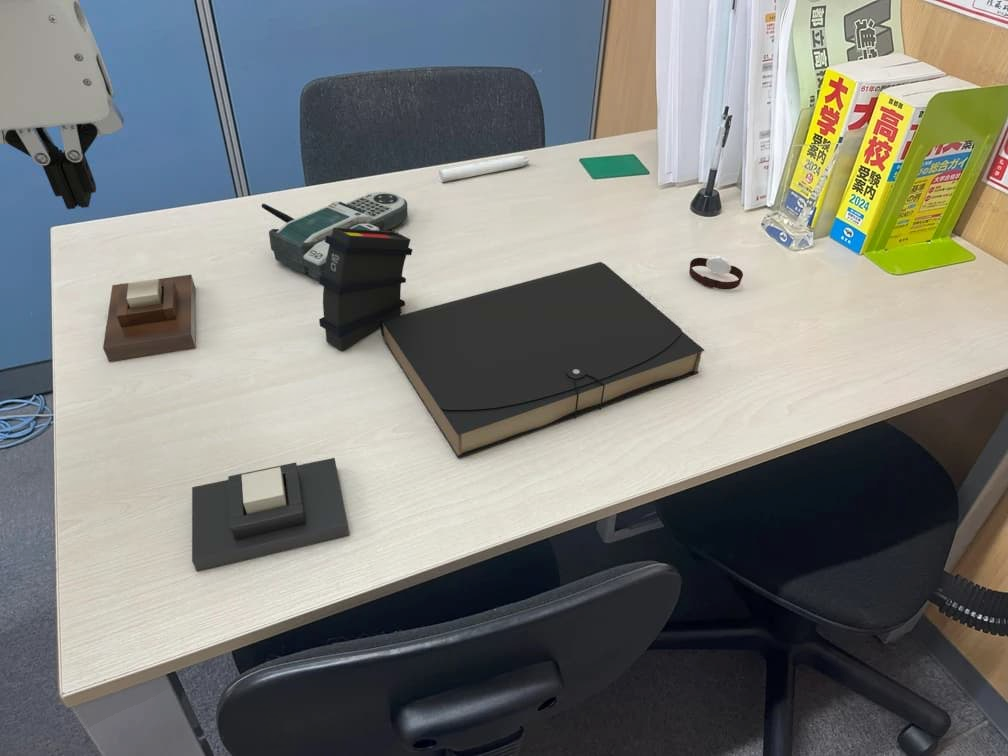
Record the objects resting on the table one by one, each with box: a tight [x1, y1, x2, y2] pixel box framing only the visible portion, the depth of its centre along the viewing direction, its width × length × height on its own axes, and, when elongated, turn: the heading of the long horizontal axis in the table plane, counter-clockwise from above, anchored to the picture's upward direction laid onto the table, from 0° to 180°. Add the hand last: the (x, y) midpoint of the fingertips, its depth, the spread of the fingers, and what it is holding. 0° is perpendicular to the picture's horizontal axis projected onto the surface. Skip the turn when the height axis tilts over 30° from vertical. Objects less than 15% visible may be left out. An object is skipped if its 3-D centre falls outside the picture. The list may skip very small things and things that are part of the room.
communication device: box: [261, 191, 408, 281], centre depth 107 cm, size 12×24×9 cm, turn 146°
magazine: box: [318, 227, 413, 351], centre depth 90 cm, size 4×13×15 cm, turn 141°
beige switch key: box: [127, 278, 162, 309], centre depth 90 cm, size 4×4×2 cm
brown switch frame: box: [102, 274, 197, 363], centre depth 92 cm, size 14×10×4 cm
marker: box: [438, 155, 531, 183], centre depth 129 cm, size 18×2×2 cm, turn 117°
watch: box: [688, 255, 744, 291], centre depth 103 cm, size 8×5×4 cm, turn 63°
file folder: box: [379, 261, 706, 459], centre depth 89 cm, size 33×4×24 cm
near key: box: [242, 467, 287, 515], centre depth 68 cm, size 4×4×2 cm
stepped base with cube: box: [191, 457, 350, 572], centre depth 69 cm, size 14×9×4 cm, turn 108°
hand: (80, 200), depth 61 cm, fingers closed
